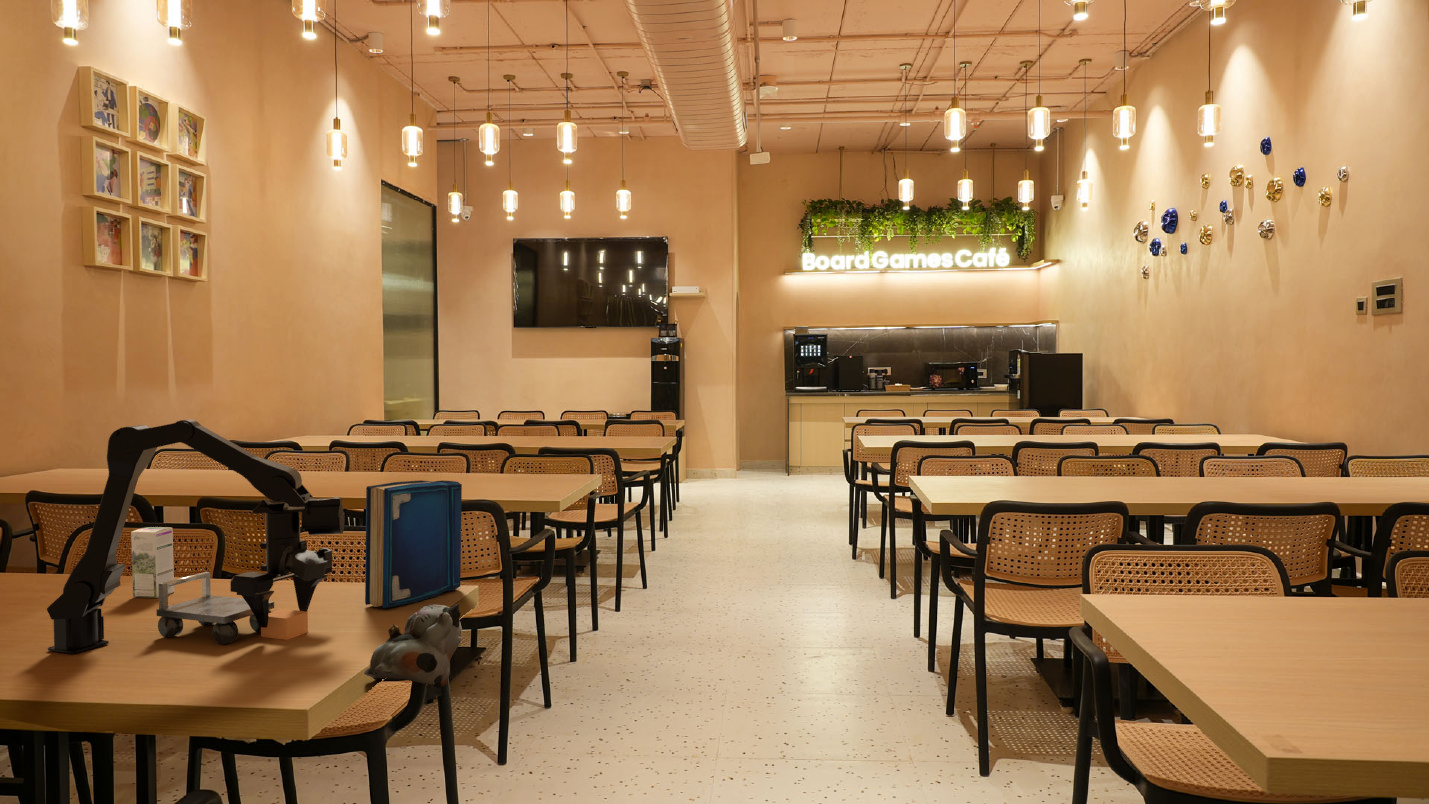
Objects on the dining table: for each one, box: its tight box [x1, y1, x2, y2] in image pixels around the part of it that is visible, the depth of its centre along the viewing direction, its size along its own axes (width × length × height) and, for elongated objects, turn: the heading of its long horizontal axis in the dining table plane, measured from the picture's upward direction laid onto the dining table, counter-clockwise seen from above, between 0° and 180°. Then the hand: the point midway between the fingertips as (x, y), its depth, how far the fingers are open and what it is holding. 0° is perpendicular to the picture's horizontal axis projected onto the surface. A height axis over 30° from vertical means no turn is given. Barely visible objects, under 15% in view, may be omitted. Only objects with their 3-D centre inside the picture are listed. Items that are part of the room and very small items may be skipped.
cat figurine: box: [363, 603, 463, 689], centre depth 139 cm, size 15×12×14 cm
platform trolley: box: [156, 571, 275, 646], centre depth 163 cm, size 11×17×10 cm, turn 71°
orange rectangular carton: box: [260, 608, 309, 641], centre depth 163 cm, size 5×6×4 cm
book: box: [364, 480, 463, 609], centre depth 189 cm, size 22×7×25 cm, turn 149°
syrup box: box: [130, 526, 175, 599], centre depth 193 cm, size 6×6×14 cm
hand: (284, 620), depth 163 cm, fingers open, 9 cm apart
